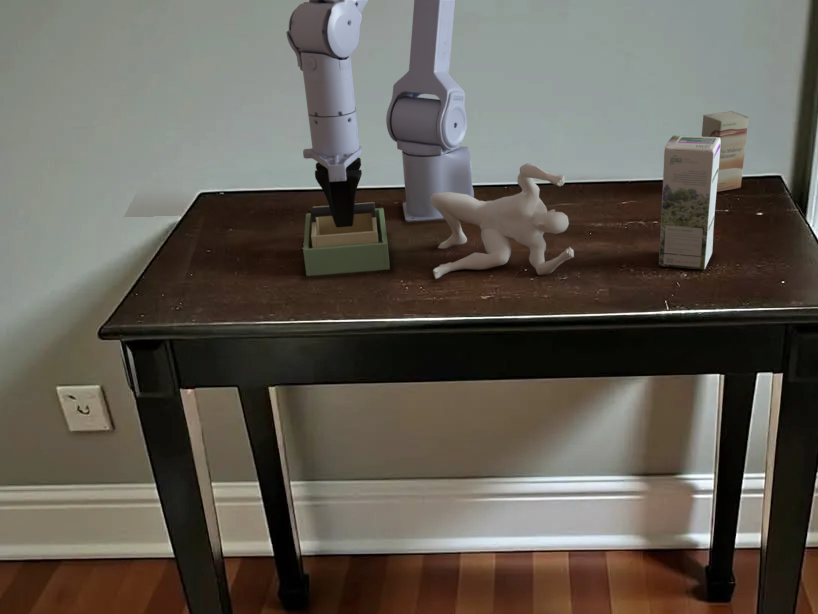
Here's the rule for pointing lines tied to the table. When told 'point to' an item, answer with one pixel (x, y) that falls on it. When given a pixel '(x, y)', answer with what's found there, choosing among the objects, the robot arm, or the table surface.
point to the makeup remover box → (728, 145)
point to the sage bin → (346, 253)
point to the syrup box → (688, 201)
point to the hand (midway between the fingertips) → (344, 222)
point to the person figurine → (504, 224)
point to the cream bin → (341, 236)
